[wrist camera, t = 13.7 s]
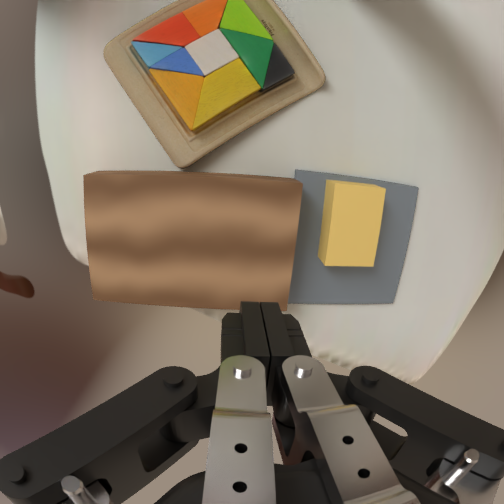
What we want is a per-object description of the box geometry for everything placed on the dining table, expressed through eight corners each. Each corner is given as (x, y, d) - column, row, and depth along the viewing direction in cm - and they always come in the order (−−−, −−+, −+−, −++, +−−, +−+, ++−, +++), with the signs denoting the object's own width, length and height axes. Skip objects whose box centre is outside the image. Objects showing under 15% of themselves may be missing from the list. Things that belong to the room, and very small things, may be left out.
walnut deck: (98, 170, 31) (83, 175, 28) (294, 178, 34) (303, 183, 30) (104, 284, 36) (93, 299, 32) (280, 294, 38) (286, 310, 34)
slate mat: (295, 169, 33) (296, 170, 33) (416, 186, 35) (418, 187, 34) (279, 301, 39) (280, 303, 38) (391, 301, 40) (392, 303, 40)
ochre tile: (385, 188, 31) (374, 184, 34) (335, 183, 31) (326, 179, 33) (373, 266, 34) (363, 257, 37) (324, 265, 34) (317, 256, 36)
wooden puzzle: (325, 85, 31) (336, 80, 27) (180, 172, 33) (175, 175, 30) (243, -27, 25) (244, -41, 22) (102, 55, 27) (91, 48, 24)
